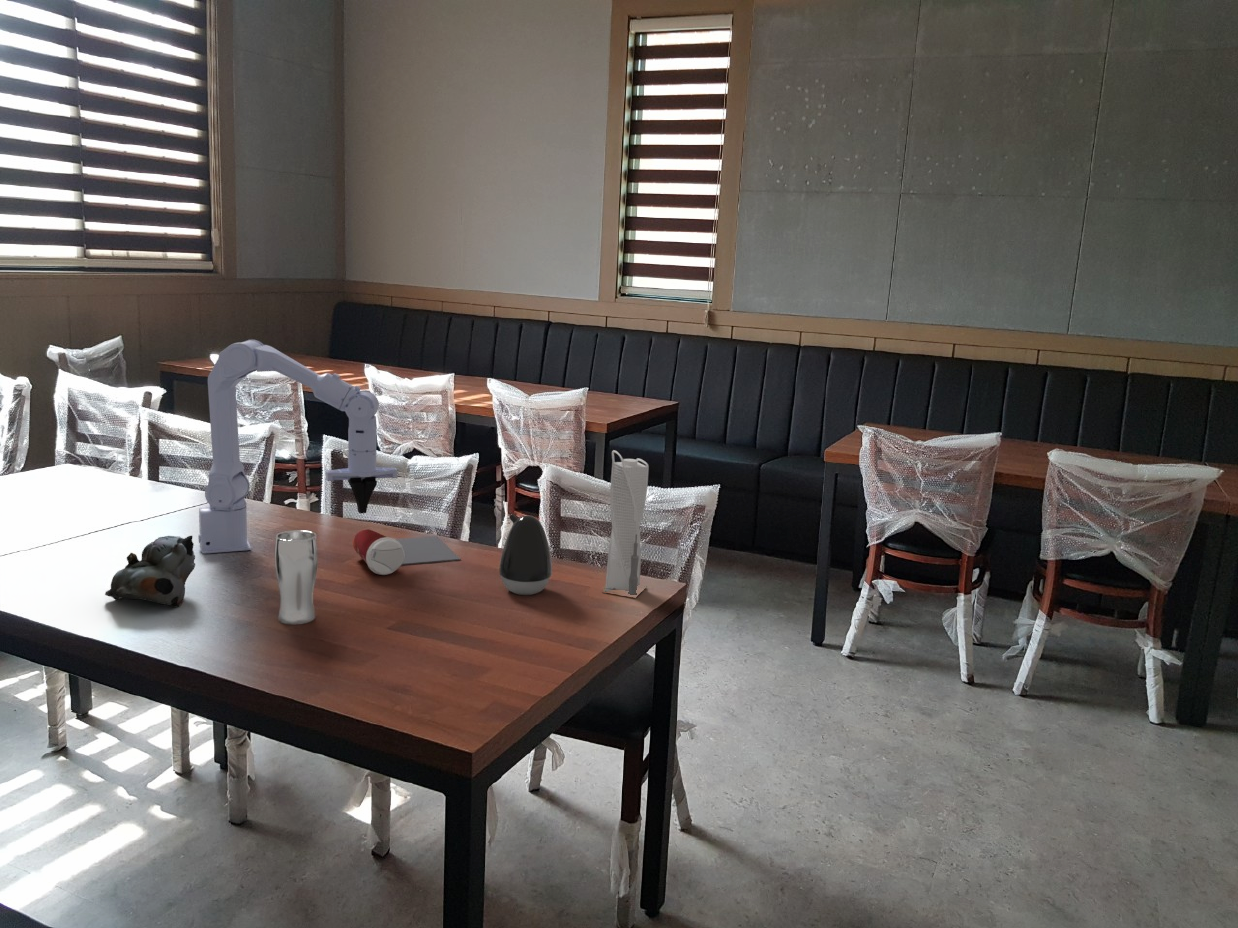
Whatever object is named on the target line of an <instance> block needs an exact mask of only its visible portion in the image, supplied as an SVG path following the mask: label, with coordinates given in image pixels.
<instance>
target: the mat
mask: <svg viewBox="0 0 1238 928" xmlns="http://www.w3.org/2000/svg"><path fill="white" fill-rule="evenodd" d="M395 539H396V540H397V541H398V542H399V543H400V544H401V545H402V547H403V550H404V554H405V555H404V561H403V563H402V565H401V566H409V565H419V564H421V565H422V564H430V563H441V562H442V563H443V562H444V561H445V562H455V561H456V562H457V561H461V560H462V558H460V556H459V555H457V553H456V552H454V551H453V549H451V548H450V547H449V546H448V545H447V544H446V543H445V542H444V541H443V540H442V539H441V538H439V536H437V535H431V536H418V537H405V538H395Z"/></svg>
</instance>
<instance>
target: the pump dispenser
mask: <svg viewBox="0 0 1238 928" xmlns="http://www.w3.org/2000/svg"><path fill="white" fill-rule="evenodd" d="M508 516H509V520H510V521H511V522H512V523H513V524H512V525H511V528H510V530H509V531H508V535H507V536H506V539H505V542H504V545H503V548H502V552H501V557H500V563H499V571H498V573H499V575H500V576H501V577H500V578H501V581H502V584H503V585H504V587H505V588H506V589H507V590H508V591H509V592H512V593H513V594H516V595H520V596H530V595H531V596H532V595H535V594H538V593H540V592H541V591H543V590H544V589H545V588H546V586H547V585H548V583H549V581H550V578H551V576H552V573H553V565H552V554H551V550H550V545H549V541H548V537H547V534H546V531H545V529H544V526H543V525H542V522H541V521H540V520H539V519H538V518H536V517H535V516H533V515H523V516H520V517H517V516H516V515H515V514H514V513H511V514H510V515H508Z"/></svg>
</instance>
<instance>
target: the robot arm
mask: <svg viewBox="0 0 1238 928" xmlns="http://www.w3.org/2000/svg"><path fill="white" fill-rule="evenodd" d="M255 372H258V373H259V372H261V373H262V372H263V373H264V372H276V373H279V374H280V375H283V376H285V377H287V378H289V379H291V380H293V381H296V382H297V383H299V384H302V385H303V386H306V387H308V388H310V389H311V391H312V393H313V395H314V398H316V399H318V400H320V401H322V402H323V403H326V404H328V405H329V406H331V407H333V408H335V409H337V410H339V411H341V412H345V414H346V416H347V417H348V430H347V431H348V432H347V433H348V440H347V441H348V442H347V443H348V444H347V445H348V448H347V450H348V453H347V454H348V455H347V458H348V459H347V468H338V469H329V470H326V471H325V479H326V481H327V482H333V481H348V484H349V486H350V488H351V490H352V493H353V495H354V499H355V503H356V506H357V507H356V508H357V512H358V513H359V514H367V510H368V505H369V502H370V499H371V496H372V494H373V493H374V490H375V489H376V487H377V483H378V481H377V480H376V479H390V478H391V479H398V476H399V475H398V469H397V468H396V467H377V442H378V441H377V416H376V414H377V413H378V410H379V407H380V402H379V399H378V398H377V396H376V395H374V393H372V392H371V391H370V390H368V389H367V390H365V389H364V390H361V389H362V387H361V386H359V385H356V386H354V385H353V384H350V383H348V382H347V381H344V380H342V379H341V378H340V377H341V375H340V374H338V373H336V372H334V373H333V374H332V373H329V372H325V373H322V374H319V373H317V372H316V371H313V370H312V369H311V368H309V367H307V366H305V365H304V364H301V363H300V362H298V361H297V360H295V359H293V358H291V357H290V356H288V355H287V354H285V353H283V352H281V351H279V350H278V349H276V348H275V347H273V346H271V345H269V344H264V343H262V342H261V341H260V340H256V339H248V340H244V341H242V342H234V343H232V344H230V345H228V346H227V347H225V348H224V349H222V351H220V352H219V354H218V359H216V362H215V364H214V366H213V367H212V369H211V371H210V373H209V374H208V376H207V390H208V391H207V392H208V393H207V394H208V407H209V420H210V421H209V422H210V439H211V450H212V451H211V452H212V464H211V468H210V470H209V472H208V483H207V485H206V488H205V490H204V498H205V500H206V503H208V504H209V506H207V507H200V508H199V509H198V520H199V521H198V522H199V524H198V527H199V534H198V544H199V545H200V551H201V554H215V553H228V552H229V553H230V552H243V551H251V550H252V547H251V545H250V542H249V539H248V521H247V520H248V515H247V514H248V513H247V512H248V511H247V509H248V508H247V502H246V500H245V497H246V496H247V495H248V493H249V492H250V489H251V487H250V485H251V484H250V481H249V479H248V477H247V476H246V473H245V466H244V464H243V462H242V461H241V459H240V458H241V457H240V443H239V442H240V441H239V427H238V425H239V423H238V406H237V391H236V390H237V389H236V386H237V385H239V383H240V382H241V381H243V380H244V378H246V377H247V376H248V375H249V374H251V373H255Z"/></svg>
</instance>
